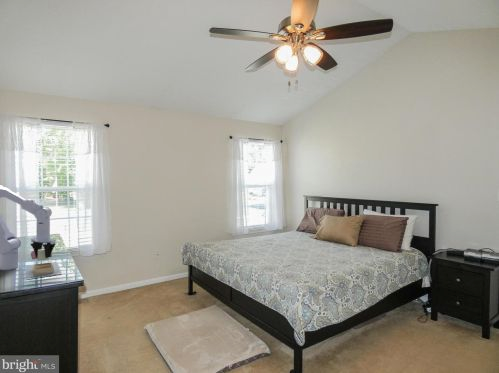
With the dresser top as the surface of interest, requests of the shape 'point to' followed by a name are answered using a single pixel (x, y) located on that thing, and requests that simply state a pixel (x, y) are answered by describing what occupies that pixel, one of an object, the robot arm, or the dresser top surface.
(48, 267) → the blueprint board
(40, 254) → the sage block
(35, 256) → the video game controller
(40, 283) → the dresser top surface
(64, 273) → the dresser top surface
